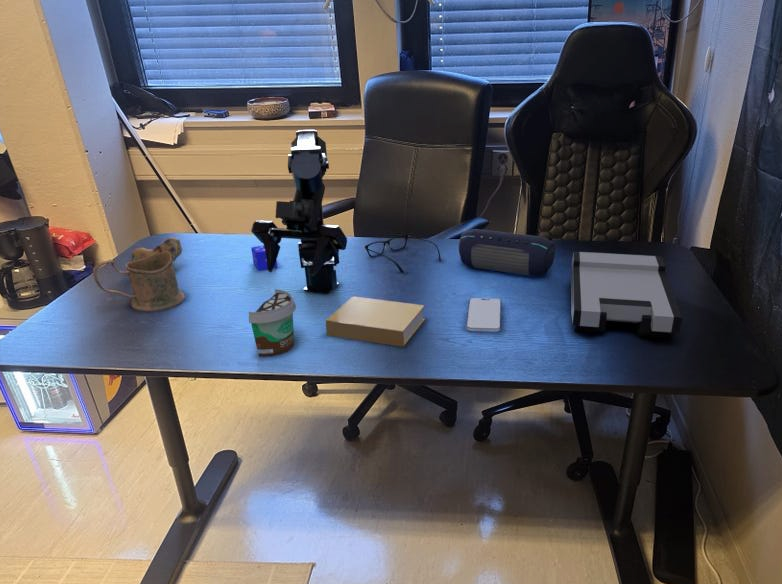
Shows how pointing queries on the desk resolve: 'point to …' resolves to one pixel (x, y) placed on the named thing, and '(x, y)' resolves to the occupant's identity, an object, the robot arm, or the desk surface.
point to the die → (260, 258)
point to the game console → (622, 293)
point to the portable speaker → (506, 252)
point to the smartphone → (484, 315)
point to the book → (375, 321)
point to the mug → (150, 282)
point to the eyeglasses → (395, 250)
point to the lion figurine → (159, 250)
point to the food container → (274, 325)
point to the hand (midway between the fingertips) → (290, 273)
